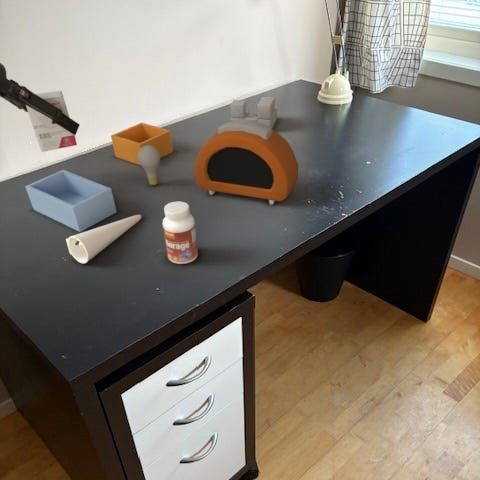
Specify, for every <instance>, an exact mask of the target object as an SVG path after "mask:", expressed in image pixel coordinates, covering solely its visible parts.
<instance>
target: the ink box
mask: <svg viewBox="0 0 480 480" xmlns="http://www.w3.org/2000/svg"><path fill="white" fill-rule="evenodd" d="M35 94H36V95H37V96H39V97H41V98H42V99H44V100H45V101H47V102H49V103H50V104H52V105H54V106H55V107H57V108H58V109H61V110H62V111H63V112H62V113H63V114H64V115H66V116H68V117H69V118H71V117H70V115H69V111H68V108H67V104H66V101H65V97H64V95H63V91H62V90H55V91H49V92H48V91H47V92H40V93H35ZM26 108H27V110H28V112H27V113H28V116H29V119H30V122H31V124H32V128H33V131H34V134H35V137H36V139H37V142H38V145H39V148H40V151H41V152H42V153H43V152H48V151H49V152H50V151H54V150H59V149H64V148H70V147H75V146H77V145H78V143H77V140H76V135H74V134H72V133H70V132H69V131H67V130H66V129H64V128H62V127H61V126H59V125H58V124H56V123H55V124H52V119H50V118H48V117H46V116H45V115H43V114H41V113H39V112H37V111H36V110H34V109H32V108H30V107H28V106H27V105H26Z"/></svg>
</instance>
